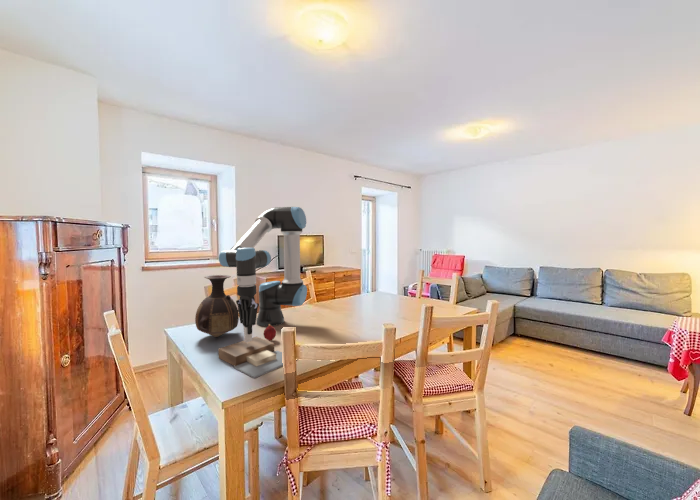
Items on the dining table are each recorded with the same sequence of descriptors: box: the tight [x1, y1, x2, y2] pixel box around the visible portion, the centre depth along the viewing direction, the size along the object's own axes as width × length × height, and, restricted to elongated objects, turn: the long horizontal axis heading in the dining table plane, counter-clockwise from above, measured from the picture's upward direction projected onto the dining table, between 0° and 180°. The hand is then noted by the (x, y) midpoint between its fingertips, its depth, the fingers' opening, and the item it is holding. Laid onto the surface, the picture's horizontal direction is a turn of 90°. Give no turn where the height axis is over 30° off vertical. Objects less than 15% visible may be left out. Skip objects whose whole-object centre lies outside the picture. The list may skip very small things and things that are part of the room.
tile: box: [247, 350, 276, 366], centre depth 122 cm, size 9×7×2 cm
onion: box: [263, 324, 277, 342], centre depth 144 cm, size 6×6×8 cm
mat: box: [233, 350, 284, 379], centre depth 120 cm, size 20×13×1 cm, turn 141°
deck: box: [217, 336, 275, 367], centre depth 128 cm, size 18×13×4 cm
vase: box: [194, 274, 240, 338], centre depth 150 cm, size 23×19×30 cm
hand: (248, 341), depth 128 cm, fingers closed
